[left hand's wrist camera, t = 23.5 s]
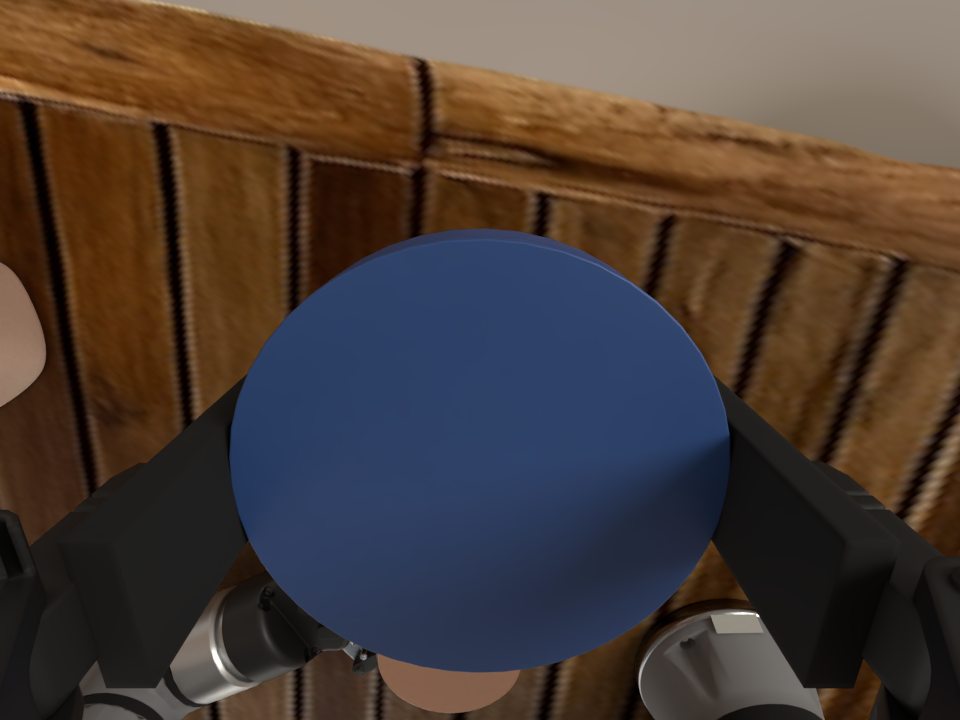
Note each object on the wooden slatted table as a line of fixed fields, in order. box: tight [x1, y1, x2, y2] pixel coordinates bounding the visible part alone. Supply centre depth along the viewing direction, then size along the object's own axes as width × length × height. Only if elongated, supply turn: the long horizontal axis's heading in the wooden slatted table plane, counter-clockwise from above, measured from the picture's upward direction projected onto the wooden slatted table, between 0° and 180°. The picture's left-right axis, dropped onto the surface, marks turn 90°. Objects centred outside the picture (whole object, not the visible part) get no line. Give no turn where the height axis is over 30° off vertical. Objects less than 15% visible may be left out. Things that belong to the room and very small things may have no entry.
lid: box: [229, 229, 730, 673], centre depth 11 cm, size 10×10×2 cm
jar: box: [376, 653, 520, 713], centre depth 36 cm, size 9×9×16 cm
